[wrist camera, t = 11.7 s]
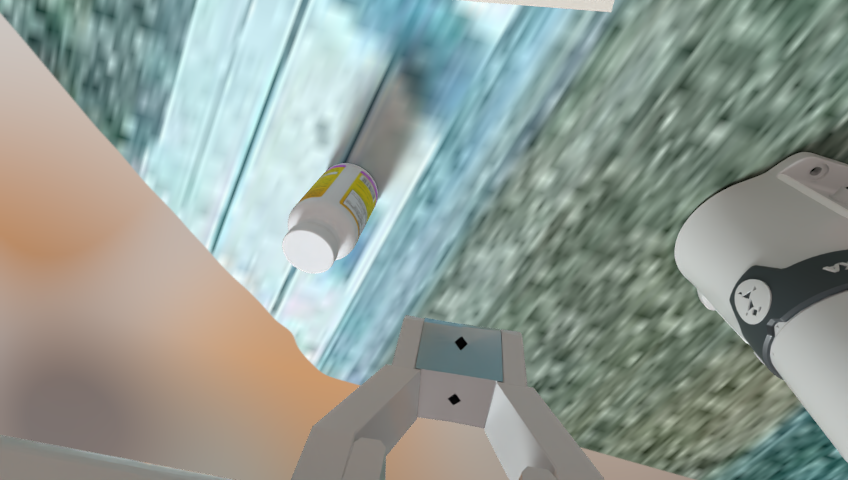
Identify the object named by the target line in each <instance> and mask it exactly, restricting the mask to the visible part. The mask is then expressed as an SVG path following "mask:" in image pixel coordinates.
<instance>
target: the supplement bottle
mask: <svg viewBox="0 0 848 480" xmlns="http://www.w3.org/2000/svg"><path fill="white" fill-rule="evenodd" d="M377 198H378V190H377V186H376V183H375V181H374V179H373V178H372V176H371V175H370V174H369V173H368V172H367V171H366V170H364V169H363V168H361V167H359V166H357V165H355V164H350V163H340V164H336V165H334V166H332V167H330V168H329V169H328V170H327V171H326V172H325V173H324V174H323V175H322V176H321V177H320V178H319V180H318V181H317V182H316V183H315V184H314V185H313V186H312V187H311V189H310V190H309V191H308V192H307V193H306V194H305V196H304V197H303V198H302V199H301V200H300V201H299V202H298V203H297V205H296V206H295V207H294V208H293V210H292V211H291V213H290V215H289V219H288V231H289V232H288V233H287V234H286V236H285V237H284V239H283V243H282V248H283V252H284V255H285V257H286V258H287V260H288V261H289V262H290V263H291V264H292V265H293V266H295V267H296V268H298V269H299V270H301V271H304V272H307V273H322V272H325V271H327V270H328V269H329V268H330V267H331V266H332V265H333V263H334V261H335V260H338V259H341V258H343V257H345V256H346V255H348V254H349V253H350V252H351V251H352V249H353V248H354V246H355V245H356V243H357V241H358V239H359V237H360V235H361V233H362V231H363V229H364V227H365V225H366V223H367V221H368V219H369V217H370V215H371V213H372V211H373V209H374V207H375V205H376V202H377Z"/></svg>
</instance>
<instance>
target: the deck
mask: <svg viewBox="0 0 848 480" xmlns="http://www.w3.org/2000/svg"><path fill="white" fill-rule="evenodd" d="M464 1H476V2H489V3H502V4H514V5H527V6H540V7H552V8H565V9H578V10H590V11H603V12H611V10H612V7H613V3H614V0H464Z"/></svg>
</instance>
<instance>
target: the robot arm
mask: <svg viewBox="0 0 848 480" xmlns="http://www.w3.org/2000/svg"><path fill="white" fill-rule="evenodd" d="M815 167H816V168H815ZM813 168H815V170H814V171H812V172H810V171H811V170H812V169H813ZM675 260H676V264H677V266H678V268H679V270H680V272H681V273H682V274H683V275H684V277H685V278H687V279H688V280H689V281H690V282H691V283H692V284H693V285H694V286H695V287H696V288H697V292H698V296H699V298H700V301H701V302H702V303H703V304H704V305H705V306H706V308H708V309H710V310H716V311H717V312H718V313H719V314H720V315H721V316H722V317H723V318H724V320H725V321H726V322H727V323H728V324H729V325H730V326H731V327H732V328H733V329H734V330H735V331H736V333H737V334H738V335H739V336H740V337H741V338H742V339H743V340H744V341H745V342H746V343H748V344H749V345H750V346H751V347H752V349H753V350H754V354H755V355H756V356H757V357H758V359H759V360H760V361H761V362H762V363H763V364H764V365H766V366H767V368H768V369H769V370H770V371H771V372H772V373H773V374H774V375H776V376H777V377H779V378H780V379H782V380H784V381H785V382H786V383H787V385H788V386H789V387H790V389H791V390H792V391H793V393H794V394H795V395H796V397H797V398H798V399H799V400H800V402H801V403H802V404H803V406H804V407H805V408H806V410H807V411H808V412H809V414H810V415H811V416H812V417H813V419H814V420H815V421H816V423H817V424H818V425H819V427H820V428H821V429H822V431H823V432H824V433H825V434H826V436H827V437H828V438H829V440H830V441H831V442H832V444H833V445H834V446H835V447H836V449H837V450H838V451H839V453H840V454H841V456H842V457H843V458H844V459H845V461H846V462H847V463H848V164H846V163H842V162H839V161H836V160H833V159H830V158H827V157H823V156H820V155H817V154H814V153H810V152H800V153H797V154H794V155H792V156H790V157H788V158H787V159H785V160H784V161H782V162H780V163H779V164H778V165H776V166H775V167H773V168H772V169H770V170H769V171H767V172H766V173H764V174H762V175H759V176H757V177H754V178H751V179H749V180H746V181H743V182H740V183H738V184H735V185H733V186H731V187H728V188H726V189H725V190H723V191H721V192H719V193H717V194H716V195H714V196H713V197H711V198H710V199H708V200H707V201H706V202H704V203H703V204H702V205H701V206H700V207H699V208H697V209H696V210H695V211H694V212H693V213H692V215H691V216H690V217H689V218H688V219H687V221H686V222H685V223H684V225H683V227H682V228H681V230H680V232H679V234H678V237H677V240H676V244H675ZM417 417H421V418H428V419H435V420H442V421H451V422H455V423H460V424H465V425H470V426H475V427H480V428H485V429H484V431H485V433H486V435H487V437H488V439H489V441H490V443H491V445H492V447H493V449H494V450H495V453H496V455H497V457H498V458H499V460H500V463H501V465H502V466H503V468H504V470H505V472H506V474H507V476H508V478H509V480H604V478H603V476H602V475H601V474H600V473H599V471H598V470H597V469H596V467H595V466H594V465H593V464H592V462H591V461H590V460H589V458H588V457H587V456H586V455H585V453H584V452H583V451H582V449H581V448H580V447H579V446H578V444H577V443H576V442H575V440H574V439H573V438H572V437H571V435H570V434H569V433H568V431H567V430H566V429H565V428H564V426H563V425H562V424H561V422H560V421H559V420H558V419H557V417H556V416H555V415H554V413H553V412H552V411H551V410H550V408H549V407H548V406H547V404H546V403H545V402H544V400H543V399H542V398H541V397H540V395H539V394H538V393H537V391H536V390H535V389H534V388H532V387H527V378H526V368H525V359H524V349H523V339H522V334H521V333H520V332H517V331H509V330H502V329H501V330H500V329H495V328H487V327H480V326H473V325H465V324H457V323H451V322H445V321H439V320H434V319H428V318H420V317H414V316H408V315H406V316H405V318H404V320H403V324H402V327H401V331H400V335H399V339H398V343H397V347H396V351H395V355H394V358H393V362H392V365H387V364H386V365H385V366H384V367H382V368H381V369H380V370H379V371H378V372H376V373H375V374H374V375H373V376H372V377H371V378H369V379H368V380H367V381H366V382H365V383H363V384H362V385H361V386H360V387H359V388H357V389H356V390H355V391H354V392H353V393H352V394H350V395H349V396H348V397H347V398H346V399H345V400H343V401H342V402H341V403H340V404H339V405H337V406H336V407H335V408H334V409H333V410H331V411H330V412H329V413H328V414H327V415H326V416H324V417H323V418H322V419H321V420H320V421H319V422H317V423H316V424H315V425H314V426H313V427H312V429H311V432H310V434H309V437H308V439H307V441H306V444H305V446H304V449H303V451H302V454H301V456H300V459H299V461H298V464H297V466H296V468H295V471H294V473H293V476H292V478H291V480H385V472H386V471H385V469H386V456H387V454H388V453H389V452H390V451H391V449H392V448H393V447H394V445H396V443H397V442H398V441H399V440H400V439H401V437H402V436H403V435H404V434H405V433H406V431H407V430H408V429H409V428H410V427H411V425H412V424H413V423H414V422H415V420H416V419H417ZM0 480H236V479H231V478H225V477H220V476H215V475H209V474H204V473H199V472H194V471H188V470H183V469H178V468H172V467H167V466H162V465H156V464H151V463H146V462H141V461H135V460H130V459H125V458H120V457H114V456H109V455H104V454H98V453H93V452H88V451H82V450H77V449H72V448H67V447H61V446H56V445H51V444H45V443H40V442H35V441H30V440H25V439H19V438H14V437H9V436H3V435H0Z"/></svg>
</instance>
